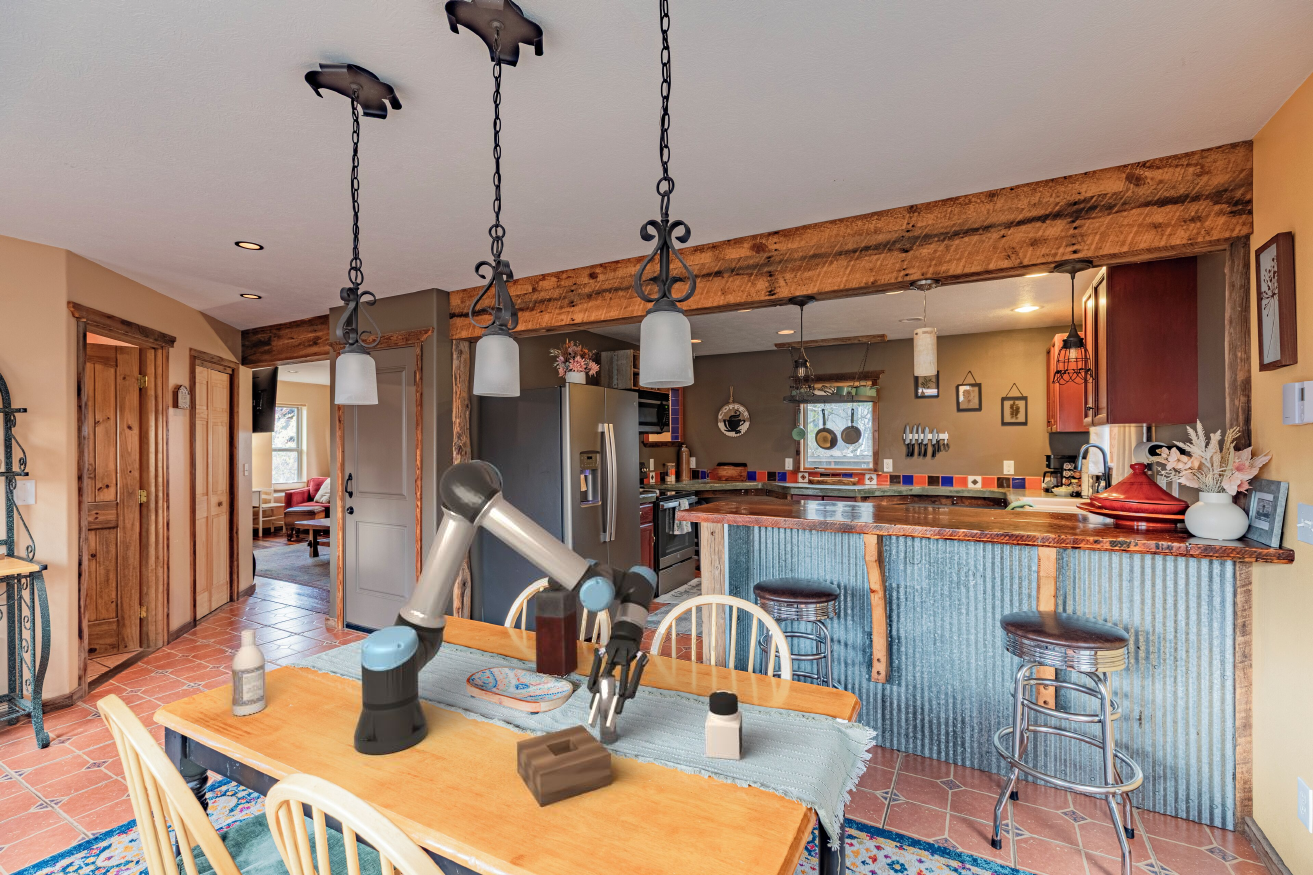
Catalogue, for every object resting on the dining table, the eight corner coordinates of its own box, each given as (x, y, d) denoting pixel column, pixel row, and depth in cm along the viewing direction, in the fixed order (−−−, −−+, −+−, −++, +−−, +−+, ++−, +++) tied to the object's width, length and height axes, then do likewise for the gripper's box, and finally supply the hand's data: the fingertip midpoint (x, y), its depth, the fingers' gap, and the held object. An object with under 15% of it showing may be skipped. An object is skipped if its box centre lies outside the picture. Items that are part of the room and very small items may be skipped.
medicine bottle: (740, 760, 126) (739, 702, 126) (705, 758, 127) (704, 699, 127) (742, 743, 133) (741, 688, 133) (709, 741, 134) (708, 686, 134)
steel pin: (597, 739, 136) (596, 675, 136) (612, 735, 138) (611, 672, 138) (604, 746, 133) (603, 681, 133) (619, 741, 135) (618, 677, 135)
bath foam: (236, 707, 156) (234, 628, 156) (268, 702, 159) (266, 625, 159) (229, 719, 150) (228, 636, 150) (262, 713, 153) (261, 632, 153)
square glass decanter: (581, 664, 182) (579, 569, 182) (564, 678, 172) (562, 577, 172) (554, 661, 185) (552, 568, 185) (535, 675, 174) (534, 576, 174)
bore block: (517, 771, 123) (516, 741, 123) (582, 753, 130) (581, 724, 130) (540, 807, 111) (540, 773, 111) (611, 784, 118) (610, 753, 118)
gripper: (665, 638, 147) (641, 739, 131) (602, 631, 153) (571, 728, 137) (657, 622, 142) (631, 725, 126) (592, 616, 148) (559, 714, 132)
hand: (600, 726), depth 132 cm, fingers closed on steel pin, 3 cm apart
